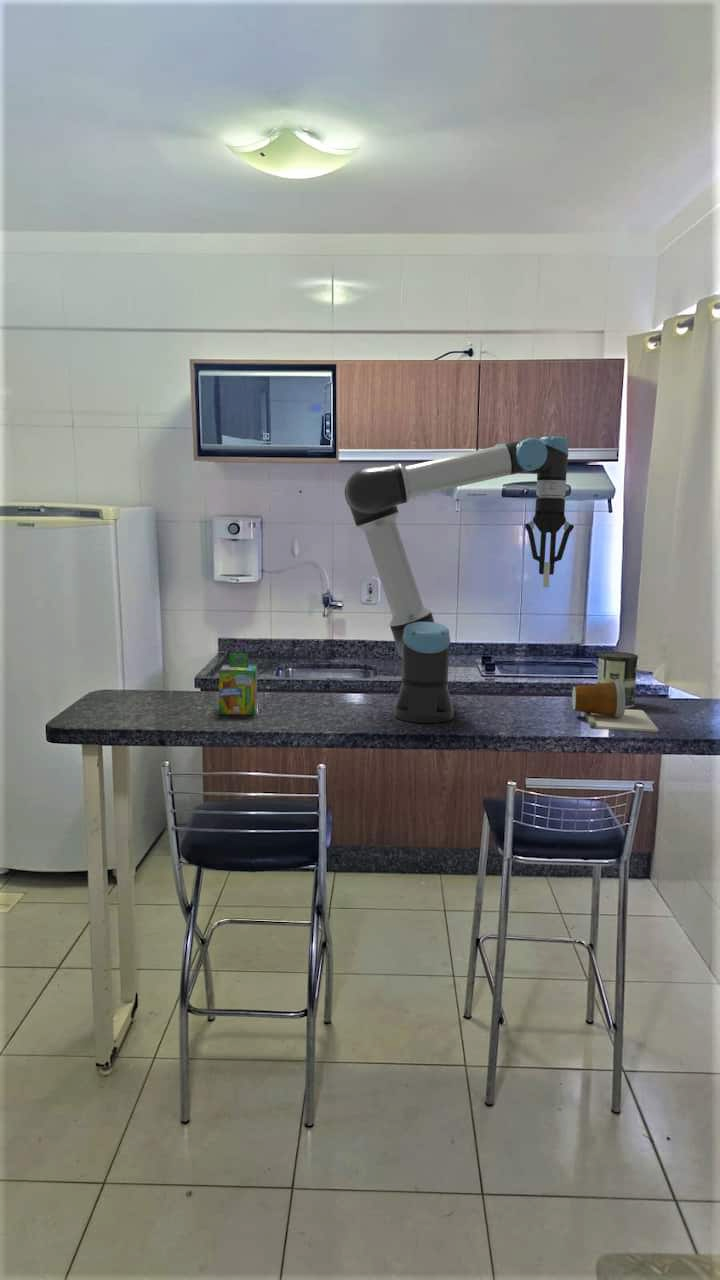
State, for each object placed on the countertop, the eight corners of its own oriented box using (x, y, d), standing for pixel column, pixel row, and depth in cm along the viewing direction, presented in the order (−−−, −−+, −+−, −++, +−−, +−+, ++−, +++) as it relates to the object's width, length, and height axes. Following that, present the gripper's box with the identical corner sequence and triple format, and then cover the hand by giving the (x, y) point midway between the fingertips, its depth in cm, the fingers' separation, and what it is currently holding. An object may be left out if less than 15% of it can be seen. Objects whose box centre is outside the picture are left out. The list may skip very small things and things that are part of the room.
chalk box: (218, 715, 200) (218, 657, 197) (222, 707, 209) (221, 651, 206) (255, 715, 200) (255, 657, 198) (257, 707, 209) (257, 651, 207)
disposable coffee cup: (570, 708, 211) (617, 709, 209) (575, 722, 202) (624, 723, 200) (572, 674, 208) (619, 675, 207) (577, 687, 199) (627, 688, 197)
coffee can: (626, 700, 226) (630, 651, 224) (639, 709, 216) (643, 658, 214) (590, 699, 226) (593, 650, 224) (601, 708, 216) (605, 657, 214)
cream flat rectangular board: (590, 728, 195) (590, 722, 195) (580, 708, 215) (581, 703, 215) (658, 732, 193) (659, 726, 193) (642, 712, 212) (643, 706, 212)
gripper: (526, 496, 207) (521, 587, 211) (577, 497, 205) (571, 589, 209) (524, 497, 214) (520, 584, 218) (574, 498, 212) (569, 586, 216)
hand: (545, 586), depth 213 cm, fingers closed
